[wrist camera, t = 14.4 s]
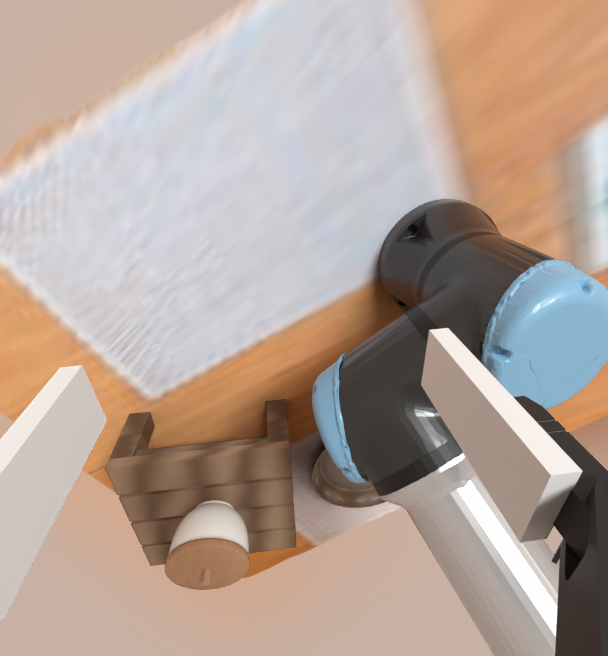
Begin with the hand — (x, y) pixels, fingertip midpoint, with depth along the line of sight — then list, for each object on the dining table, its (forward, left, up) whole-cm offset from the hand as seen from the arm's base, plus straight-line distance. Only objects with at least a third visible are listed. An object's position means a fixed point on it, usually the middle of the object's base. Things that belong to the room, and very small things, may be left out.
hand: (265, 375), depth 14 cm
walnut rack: (+11, +41, -32) cm, 53 cm away
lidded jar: (+11, +41, -22) cm, 48 cm away
